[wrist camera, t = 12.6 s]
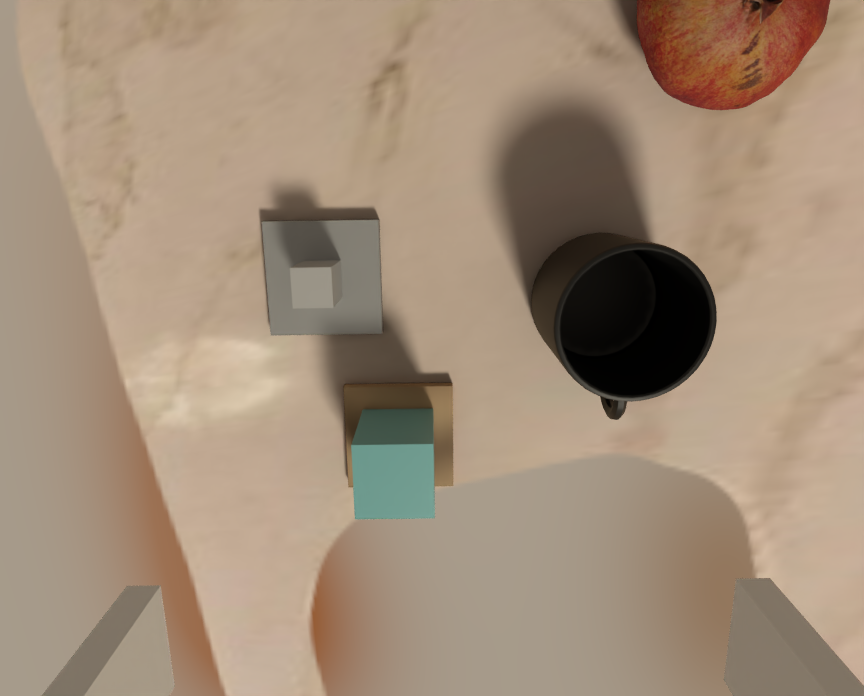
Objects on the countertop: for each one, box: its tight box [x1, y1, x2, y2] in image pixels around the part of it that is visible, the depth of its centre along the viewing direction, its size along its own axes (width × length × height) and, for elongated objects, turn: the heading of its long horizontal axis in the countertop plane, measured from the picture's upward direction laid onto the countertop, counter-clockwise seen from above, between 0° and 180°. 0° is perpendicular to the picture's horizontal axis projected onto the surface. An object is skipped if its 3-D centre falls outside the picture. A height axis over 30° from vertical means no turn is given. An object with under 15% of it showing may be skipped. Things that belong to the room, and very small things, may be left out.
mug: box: [531, 233, 716, 420], centre depth 40 cm, size 9×12×9 cm
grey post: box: [262, 219, 383, 335], centre depth 41 cm, size 8×8×5 cm
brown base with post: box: [343, 383, 453, 487], centre depth 43 cm, size 8×8×7 cm
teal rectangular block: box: [351, 408, 435, 519], centre depth 43 cm, size 5×5×7 cm
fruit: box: [637, 0, 830, 110], centre depth 35 cm, size 11×10×10 cm
